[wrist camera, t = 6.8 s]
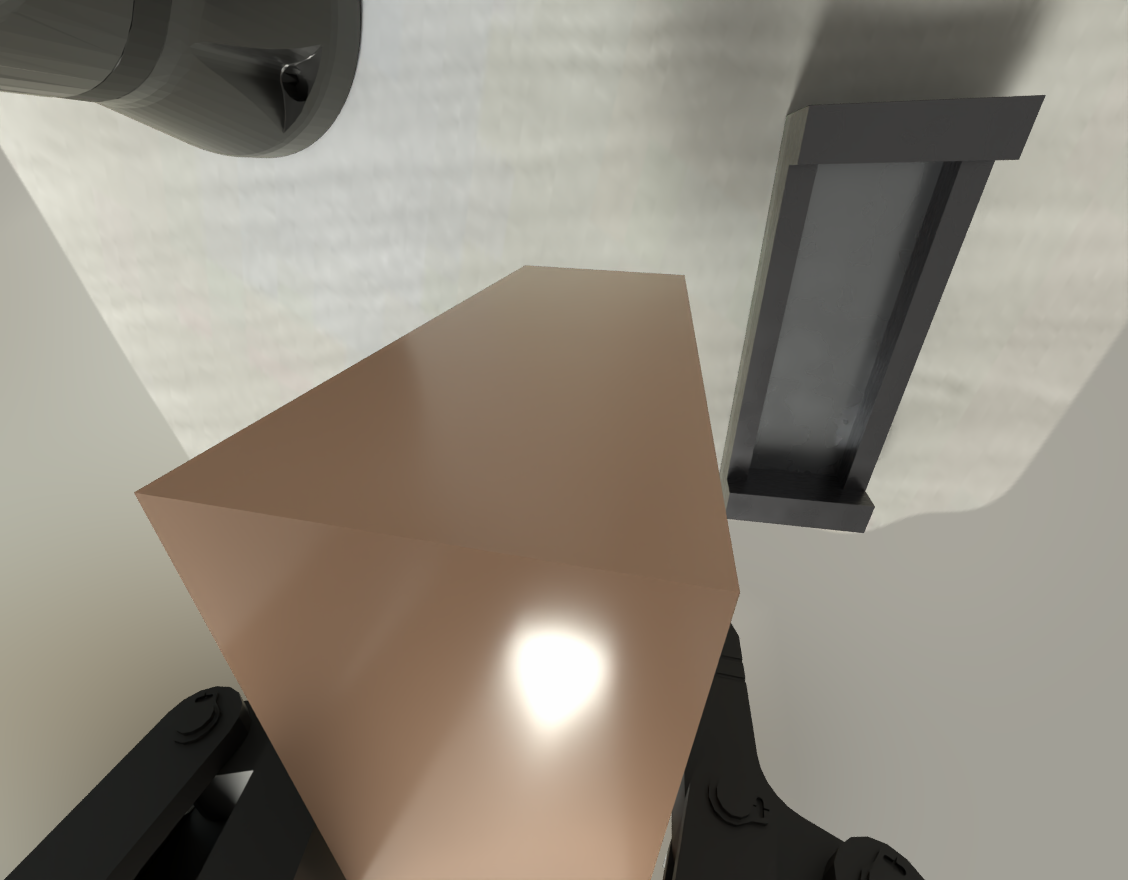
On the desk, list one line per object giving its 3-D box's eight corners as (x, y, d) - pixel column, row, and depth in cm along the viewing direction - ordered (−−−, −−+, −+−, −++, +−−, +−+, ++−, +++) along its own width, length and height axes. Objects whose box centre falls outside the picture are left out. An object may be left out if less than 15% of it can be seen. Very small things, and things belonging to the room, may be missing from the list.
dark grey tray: (786, 115, 21) (809, 105, 18) (981, 108, 20) (1045, 95, 17) (718, 481, 32) (724, 518, 29) (841, 492, 31) (863, 533, 27)
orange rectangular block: (525, 265, 12) (135, 492, 3) (684, 275, 11) (740, 592, 2) (530, 627, 19) (414, 1003, 10) (628, 645, 18) (593, 1064, 9)
